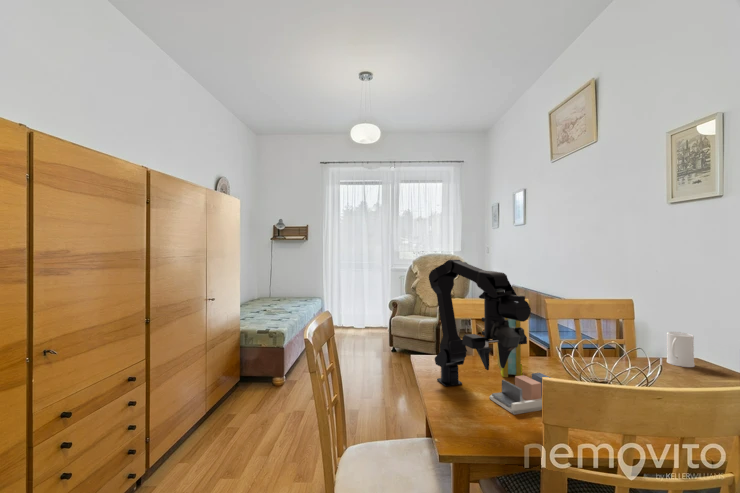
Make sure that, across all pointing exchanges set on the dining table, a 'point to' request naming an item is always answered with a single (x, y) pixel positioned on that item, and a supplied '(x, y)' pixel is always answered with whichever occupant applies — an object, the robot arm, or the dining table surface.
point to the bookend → (509, 393)
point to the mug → (680, 349)
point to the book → (512, 356)
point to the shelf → (524, 405)
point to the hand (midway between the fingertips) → (494, 368)
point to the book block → (528, 387)
